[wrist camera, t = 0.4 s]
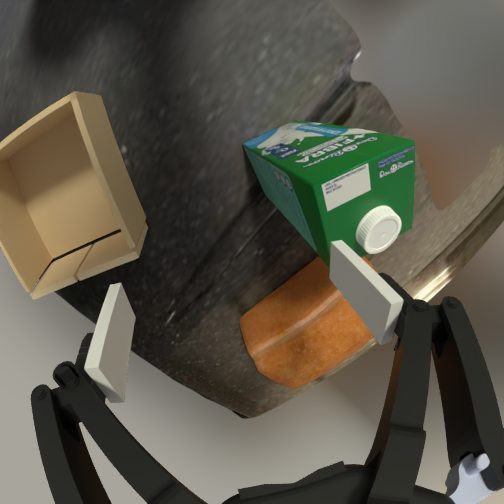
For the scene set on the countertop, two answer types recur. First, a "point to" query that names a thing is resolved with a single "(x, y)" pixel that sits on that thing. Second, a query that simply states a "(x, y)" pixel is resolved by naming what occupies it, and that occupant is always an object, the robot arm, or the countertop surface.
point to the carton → (63, 186)
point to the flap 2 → (110, 254)
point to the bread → (303, 328)
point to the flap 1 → (61, 273)
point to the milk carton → (338, 183)
